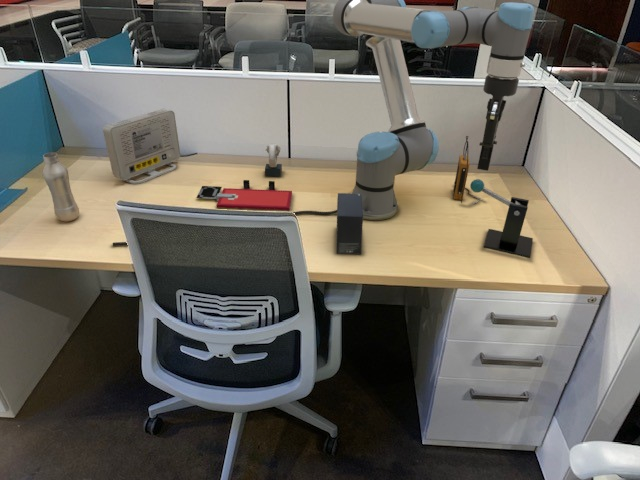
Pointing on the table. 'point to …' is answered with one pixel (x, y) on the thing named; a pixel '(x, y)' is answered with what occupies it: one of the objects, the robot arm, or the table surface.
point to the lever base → (511, 232)
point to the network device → (142, 145)
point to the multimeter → (462, 176)
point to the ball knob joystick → (489, 192)
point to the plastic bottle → (59, 188)
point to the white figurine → (273, 161)
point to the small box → (349, 223)
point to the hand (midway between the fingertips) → (482, 168)
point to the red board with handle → (248, 197)
